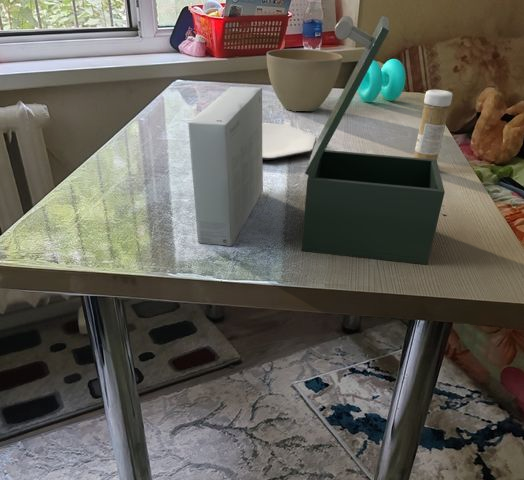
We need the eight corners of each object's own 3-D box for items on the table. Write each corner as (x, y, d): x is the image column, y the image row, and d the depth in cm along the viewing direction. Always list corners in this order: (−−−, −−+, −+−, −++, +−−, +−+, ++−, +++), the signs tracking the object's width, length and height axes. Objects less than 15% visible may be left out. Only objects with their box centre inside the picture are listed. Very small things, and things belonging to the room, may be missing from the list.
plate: (268, 124, 124) (268, 117, 123) (338, 152, 109) (339, 144, 108) (176, 138, 113) (176, 131, 112) (240, 172, 98) (240, 163, 97)
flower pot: (349, 114, 134) (356, 59, 126) (282, 119, 128) (285, 61, 121) (316, 98, 147) (320, 47, 140) (254, 102, 141) (255, 49, 134)
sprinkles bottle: (412, 164, 105) (427, 87, 97) (437, 167, 103) (454, 90, 95) (409, 171, 101) (424, 92, 93) (434, 175, 100) (451, 95, 92)
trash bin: (422, 226, 81) (436, 159, 75) (427, 264, 71) (444, 191, 65) (311, 214, 83) (317, 149, 77) (301, 251, 73) (307, 178, 67)
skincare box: (231, 189, 91) (231, 84, 81) (263, 192, 90) (266, 87, 80) (192, 243, 74) (186, 119, 65) (231, 247, 73) (231, 123, 64)
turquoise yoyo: (352, 97, 149) (357, 56, 143) (383, 96, 152) (389, 55, 146) (370, 106, 142) (376, 63, 136) (403, 104, 145) (410, 62, 139)
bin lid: (388, 18, 67) (351, -4, 66) (389, 30, 57) (345, 4, 56) (319, 147, 77) (287, 129, 77) (310, 176, 67) (272, 156, 67)
